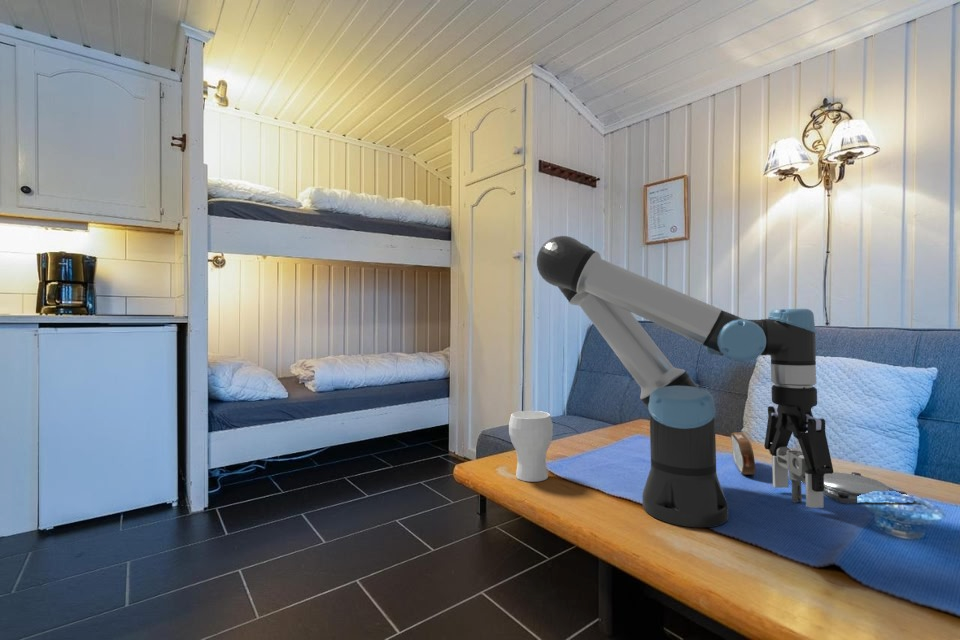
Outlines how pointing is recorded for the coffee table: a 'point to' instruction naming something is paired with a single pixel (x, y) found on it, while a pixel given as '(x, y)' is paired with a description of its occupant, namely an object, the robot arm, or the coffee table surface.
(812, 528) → the coffee table surface
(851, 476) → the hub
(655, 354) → the robot arm
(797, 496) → the mechanical component
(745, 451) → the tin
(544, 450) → the cup
